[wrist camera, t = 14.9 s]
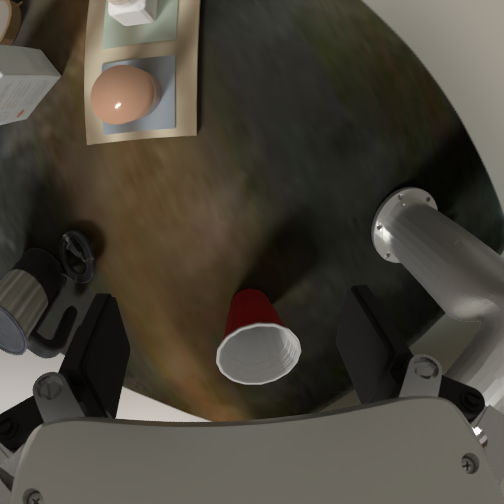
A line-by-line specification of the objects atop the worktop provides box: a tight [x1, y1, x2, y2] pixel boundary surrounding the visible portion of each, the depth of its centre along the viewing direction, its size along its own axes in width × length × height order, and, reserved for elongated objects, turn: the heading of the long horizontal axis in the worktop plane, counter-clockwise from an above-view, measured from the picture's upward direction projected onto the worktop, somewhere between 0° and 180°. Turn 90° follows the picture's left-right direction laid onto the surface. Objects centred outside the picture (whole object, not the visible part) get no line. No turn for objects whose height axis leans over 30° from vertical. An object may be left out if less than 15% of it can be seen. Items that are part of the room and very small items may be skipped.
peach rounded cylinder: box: [90, 65, 162, 124], centre depth 27 cm, size 6×6×7 cm
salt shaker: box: [107, 0, 157, 26], centre depth 20 cm, size 4×4×10 cm
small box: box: [0, 45, 61, 125], centre depth 21 cm, size 8×6×13 cm
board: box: [84, 0, 201, 145], centre depth 28 cm, size 14×22×2 cm, turn 178°
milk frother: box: [0, 230, 95, 358], centre depth 33 cm, size 14×16×15 cm
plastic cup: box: [216, 289, 301, 384], centre depth 42 cm, size 11×11×12 cm
